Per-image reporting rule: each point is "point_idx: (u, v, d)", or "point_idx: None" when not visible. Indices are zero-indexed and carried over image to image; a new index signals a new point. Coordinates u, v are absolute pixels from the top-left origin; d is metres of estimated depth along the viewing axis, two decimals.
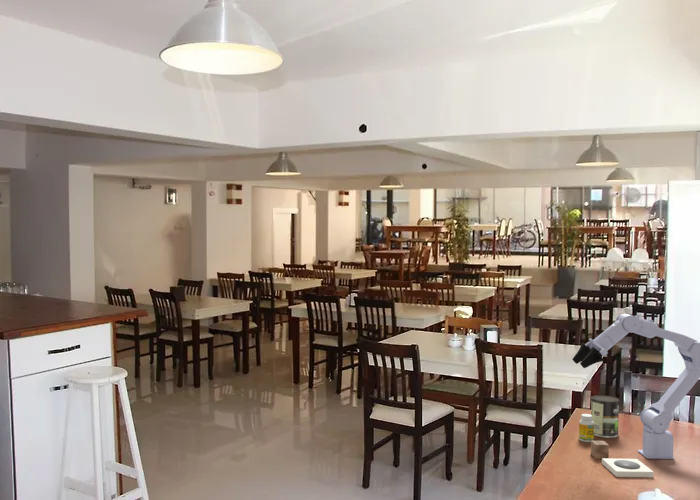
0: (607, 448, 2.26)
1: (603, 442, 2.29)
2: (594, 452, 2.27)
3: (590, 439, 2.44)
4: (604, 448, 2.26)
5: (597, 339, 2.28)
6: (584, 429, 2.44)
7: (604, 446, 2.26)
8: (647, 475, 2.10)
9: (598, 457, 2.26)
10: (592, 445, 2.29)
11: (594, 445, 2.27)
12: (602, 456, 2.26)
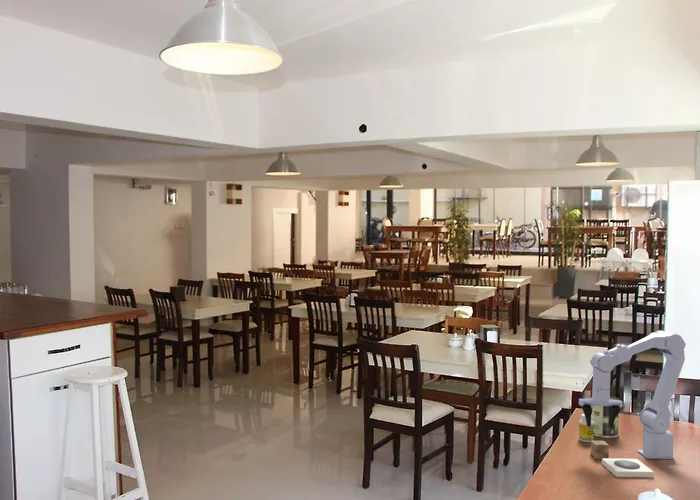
0: (607, 448, 2.26)
1: (603, 442, 2.29)
2: (594, 452, 2.27)
3: (590, 439, 2.44)
4: (604, 448, 2.26)
5: (606, 398, 2.25)
6: (584, 429, 2.44)
7: (604, 446, 2.26)
8: (647, 475, 2.10)
9: (598, 457, 2.26)
10: (592, 445, 2.29)
11: (594, 445, 2.27)
12: (602, 456, 2.26)
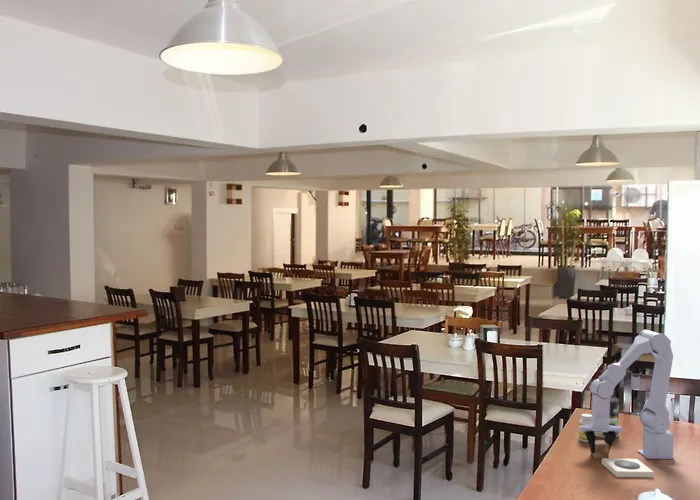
0: (607, 448, 2.26)
1: (603, 442, 2.29)
2: (594, 452, 2.27)
3: None
4: (604, 447, 2.26)
5: (606, 425, 2.26)
6: None
7: (604, 446, 2.26)
8: (647, 475, 2.10)
9: (598, 457, 2.26)
10: None
11: None
12: (602, 456, 2.26)
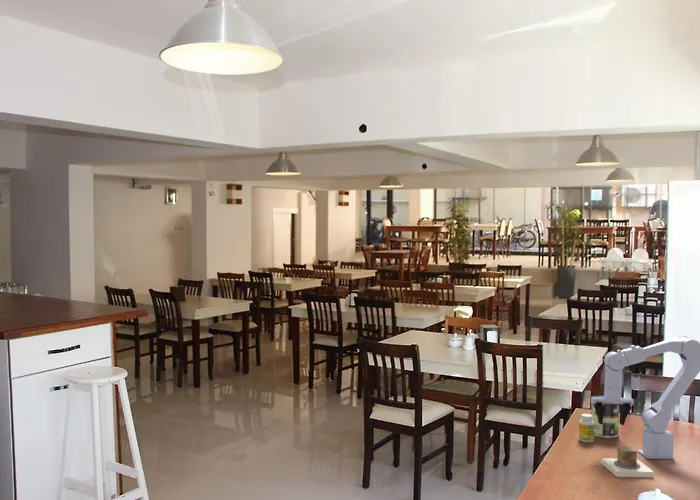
0: (635, 455, 2.13)
1: (631, 448, 2.16)
2: (621, 459, 2.15)
3: (590, 439, 2.44)
4: (632, 454, 2.13)
5: (618, 396, 2.29)
6: (584, 429, 2.44)
7: (632, 453, 2.13)
8: (647, 475, 2.10)
9: (625, 464, 2.13)
10: (619, 451, 2.17)
11: (621, 452, 2.15)
12: (630, 463, 2.13)
